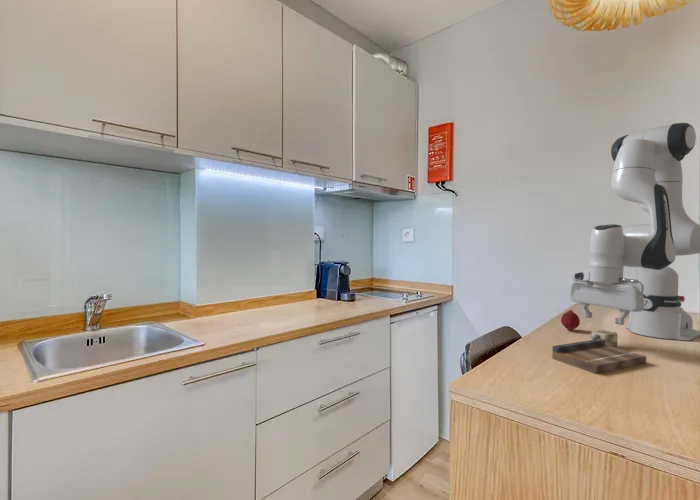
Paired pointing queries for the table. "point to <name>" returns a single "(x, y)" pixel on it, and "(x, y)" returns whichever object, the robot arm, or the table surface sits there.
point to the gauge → (606, 337)
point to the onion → (570, 320)
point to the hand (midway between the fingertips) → (603, 320)
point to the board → (596, 356)
